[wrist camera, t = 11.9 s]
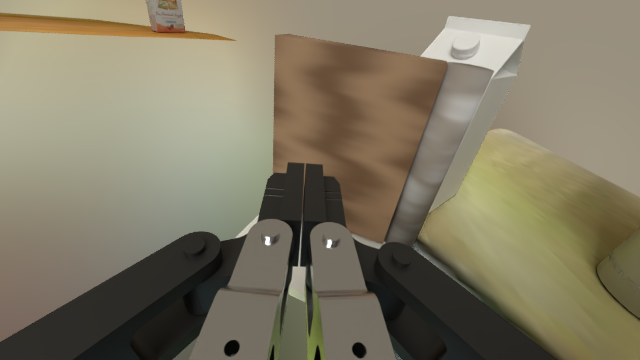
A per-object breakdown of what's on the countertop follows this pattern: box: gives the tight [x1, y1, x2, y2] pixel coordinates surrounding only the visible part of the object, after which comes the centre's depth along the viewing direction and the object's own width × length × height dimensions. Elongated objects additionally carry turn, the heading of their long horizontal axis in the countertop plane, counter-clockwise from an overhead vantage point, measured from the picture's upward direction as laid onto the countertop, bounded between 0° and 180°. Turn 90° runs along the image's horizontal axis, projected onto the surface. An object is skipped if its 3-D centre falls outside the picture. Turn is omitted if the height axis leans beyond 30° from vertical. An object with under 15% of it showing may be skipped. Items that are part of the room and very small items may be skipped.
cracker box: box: [146, 0, 185, 33], centre depth 121 cm, size 14×6×21 cm, turn 146°
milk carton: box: [421, 16, 531, 213], centre depth 28 cm, size 7×7×19 cm
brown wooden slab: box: [273, 34, 494, 248], centre depth 21 cm, size 14×3×15 cm, turn 69°
